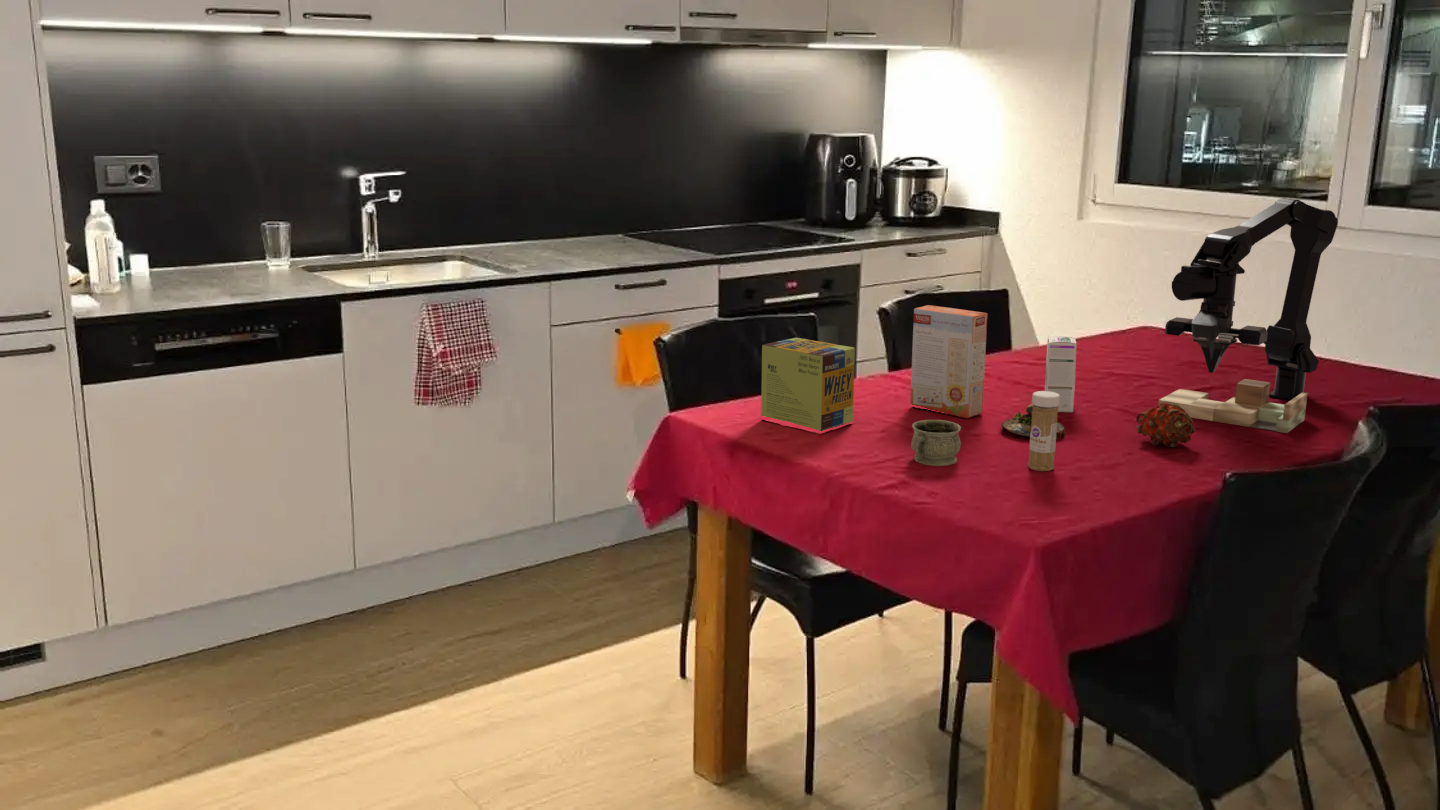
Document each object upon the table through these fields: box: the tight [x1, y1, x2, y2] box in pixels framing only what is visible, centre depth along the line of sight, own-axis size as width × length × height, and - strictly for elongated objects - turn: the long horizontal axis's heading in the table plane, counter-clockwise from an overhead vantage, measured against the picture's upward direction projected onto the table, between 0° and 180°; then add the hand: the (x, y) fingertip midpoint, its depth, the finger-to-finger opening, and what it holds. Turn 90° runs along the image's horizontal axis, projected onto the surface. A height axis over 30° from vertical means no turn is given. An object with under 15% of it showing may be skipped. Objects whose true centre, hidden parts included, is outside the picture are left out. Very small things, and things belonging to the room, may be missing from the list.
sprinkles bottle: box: [1027, 390, 1060, 472], centre depth 222 cm, size 5×5×14 cm
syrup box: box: [1044, 336, 1078, 413], centre depth 261 cm, size 6×6×14 cm
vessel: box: [910, 419, 962, 467], centre depth 228 cm, size 12×9×6 cm
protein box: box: [760, 337, 856, 431], centre depth 250 cm, size 10×15×16 cm
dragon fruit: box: [1135, 402, 1197, 448], centre depth 237 cm, size 8×8×12 cm
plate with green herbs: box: [1000, 403, 1066, 441], centre depth 244 cm, size 12×12×8 cm
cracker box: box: [909, 304, 988, 419], centre depth 258 cm, size 14×6×21 cm, turn 47°
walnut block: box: [1234, 378, 1271, 407], centre depth 257 cm, size 5×5×4 cm
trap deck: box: [1157, 388, 1309, 434], centre depth 256 cm, size 12×25×6 cm, turn 51°
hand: (1211, 372), depth 261 cm, fingers closed
